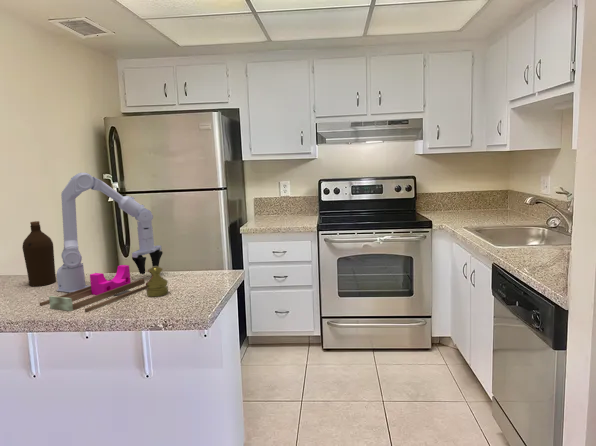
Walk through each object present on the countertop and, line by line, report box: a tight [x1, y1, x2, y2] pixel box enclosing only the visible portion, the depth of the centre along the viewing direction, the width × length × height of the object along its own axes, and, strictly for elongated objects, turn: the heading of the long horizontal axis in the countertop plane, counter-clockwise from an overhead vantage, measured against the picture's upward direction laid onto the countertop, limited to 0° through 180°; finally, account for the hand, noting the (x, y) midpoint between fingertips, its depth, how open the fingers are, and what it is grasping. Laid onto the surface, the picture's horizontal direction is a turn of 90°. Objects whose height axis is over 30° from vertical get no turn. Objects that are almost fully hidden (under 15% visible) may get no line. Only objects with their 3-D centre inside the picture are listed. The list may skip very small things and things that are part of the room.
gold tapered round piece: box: [145, 266, 169, 298], centre depth 158 cm, size 7×7×10 cm
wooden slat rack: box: [39, 278, 147, 313], centre depth 161 cm, size 22×33×4 cm
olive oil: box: [22, 220, 57, 287], centre depth 180 cm, size 11×11×25 cm
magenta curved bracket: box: [89, 264, 132, 296], centre depth 167 cm, size 15×6×8 cm, turn 156°
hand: (149, 271), depth 183 cm, fingers open, 7 cm apart
